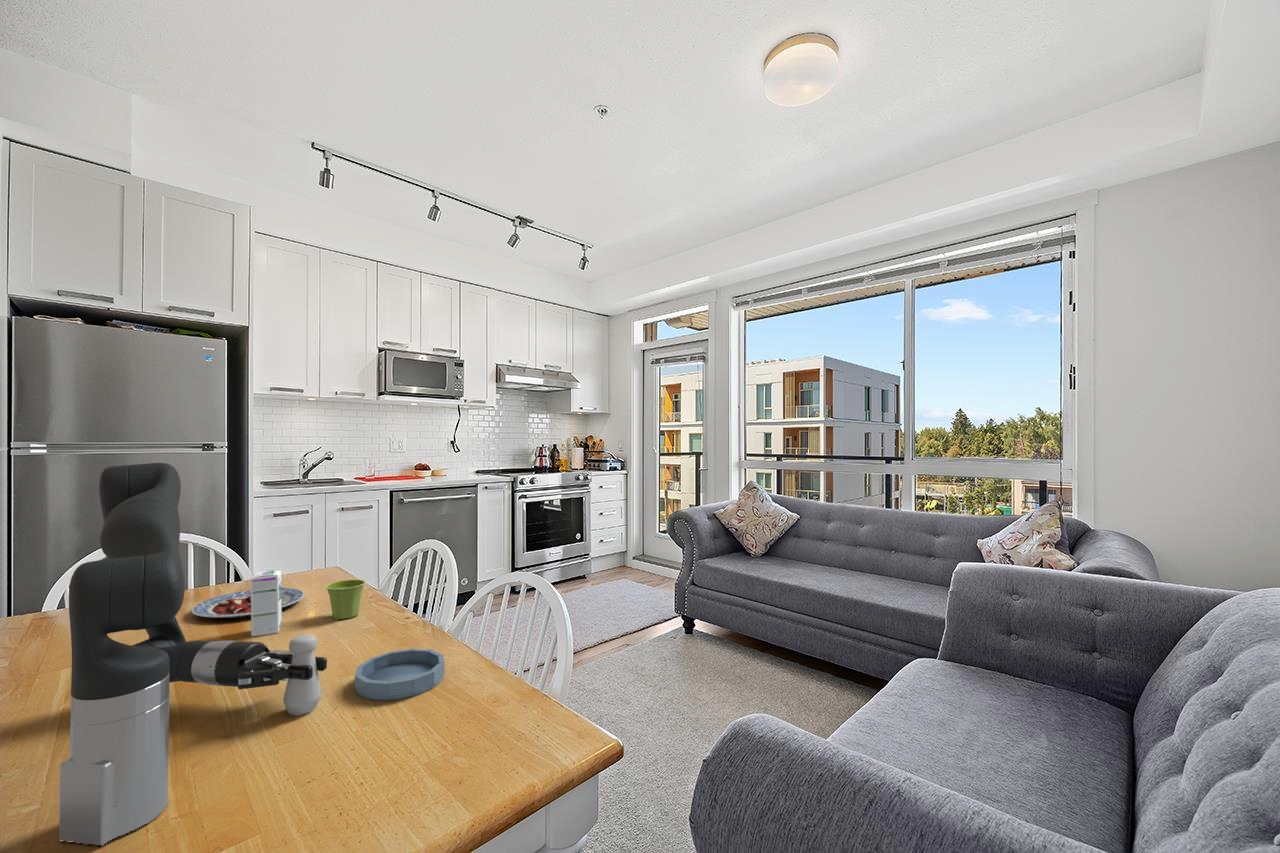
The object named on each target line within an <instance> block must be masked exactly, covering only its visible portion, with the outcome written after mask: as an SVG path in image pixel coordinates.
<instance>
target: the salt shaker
mask: <svg viewBox="0 0 1280 853" xmlns="http://www.w3.org/2000/svg"><path fill="white" fill-rule="evenodd" d="M317 647H318V638H317V636H316V635H315V634H312V633H311V634H307V633H306V634H301V635H297V636H295V637H293V638H292V639H291V640H290V641H289V645H288V649H289V651H290V652H291V653H294V655H293V660H292V664H291V666H292V665H295V666H301V665H309V666H312V667H313V677H312V678H310V679H309V680H301V679H290V680H287V681H286V687H285V691H284V695H283V705H284V707H285V709H286V711H287V713H288V714H289V716H295V717H296V716H297V717H301V716H303V715H306V714H310V713H312V712H313V711H314V710H315V709H316V708H317V707H318V705H319V702H320V700H321V697H322V695H323V694H322V693H323V692H322V688H321V683H320V678H319V677H320V675H319V671H318V670H317V665H316V660H315V657H316V655H315V650H316V648H317Z"/></svg>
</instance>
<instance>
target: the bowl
mask: <svg viewBox="0 0 1280 853" xmlns="http://www.w3.org/2000/svg"><path fill="white" fill-rule="evenodd" d="M443 676H445V658H444V654H443V653H440V652H438V651H436V650H433V649H430V648H429V649H426V648H407V649H399V650H393V651H388V652H386V653H385V652H384V653H382V654H379V655H376V656H372V657H370V658H368V659H367V660H365V661H364V662H362V663H361V664H360V665H358V666H357V667H356V670H355V676H354V690H355V692H356V694H357V695H358V696H360V697H361V698H363V699H366V700H371V701H381V702H383V701H386V702H387V701H397V700H403V699H408V698H412V697H414V696H415V697H416V696H418V695H420V694H424V693H425V692H428V691H430V690H432V689H434V688H435V687H437V686H438V685H439V684H441V682H442V681H443V679H444V677H443ZM441 680H442V681H441ZM436 685H437V686H436ZM433 687H434V688H433ZM431 688H432V689H431Z"/></svg>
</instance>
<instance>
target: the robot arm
mask: <svg viewBox="0 0 1280 853" xmlns="http://www.w3.org/2000/svg"><path fill="white" fill-rule="evenodd" d="M181 484H182V483H181V478H180V475H179V473H178V470H176V467H174V466H173V465H172V464H169V463H166V462H151V463H138V464H130V465H129V464H125V465H124V464H122V465H114V466H108V467H105V468H104V469H103V471H102V472H101V474H100V477H99V484H98V486H99V487H98V491H99V492H98V494H99V501H100V506H101V512H102V518H103V525H102V530H101V533H100V537H99V545H100V548H101V551H102V553H103V555H105V556H106V557H107V559H100V560H99V559H98V560H93V561H87V562H84V563H83V562H82V564H80V565H79V566H77V567H76V568H75V570H73V573H72V575H71V579H70V582H69V586H68V588H69V589H68V615H69V628H70V641H71V642H70V643H71V673H70V675H71V676H70V677H71V681H70V726H69V727H70V732H69V733H70V734H69V735H70V736H69V740H70V741H69V757H68V758H67V759H65V760H63V761H62V762H61V763H60V765H59V771H60V772H59V826H58V828H59V830H58V831H59V832H58V833H59V834H58V841H59V840H63V841H73V842H79V843H83V844H82V845H88V844H97V845H102V846H105V845H106V844H108V843H109V842H111V841H113V840H114V838H115V839H117V838H119V837H118V836H120V837H122V836H125V835H127V834H126V833H128V834H130V833H131V832H130V831H132V830H134V831H136V830H138V829H140V828H142V827H144V826H145V824H146V825H147V824H149V823H150V822H152V821H153V820H155V819H156V818H157V817H159V816H160V815H161V814H162V813H163V812H164V810H165V809H166V808H167V806H168V803H169V757H170V756H169V754H170V753H169V744H170V742H169V741H170V736H169V734H170V733H169V732H170V684H171V683H174V682H176V683H177V682H182V683H183V682H184V683H195V684H196V683H197V684H205V685H208V686H216V687H217V686H220V687H233V688H238V690H244V689H245V690H246V689H254V688H263V687H271V686H272V687H273V686H277V685H279V684H280V681H282V682H287V681H288V680H290V679H301V680H309V679H310V678H312V677H313V667H312V666H309V665H301V666H295V665H292V666H291V664H292V660H293V655H294V653H291V652H290V650H289V651H284V650H279V649H278V650H277V649H276V650H275V649H274V650H270V649H269V647H268V646H267V645H266V644H264V642H260V641H244V640H243V641H241V640H217V641H216V640H215V641H214V640H200V639H199V640H189V641H188V640H186V637H185V635H184V633H183V631H182V629H181V627H180V624H179V622H178V620H177V617H176V616H177V615H178V613H179V612H180V610H181V608H182V605H183V602H184V600H185V599H184V598H185V592H186V591H185V590H186V589H185V588H186V586H185V585H186V582H185V575H184V569H183V565H182V560H181V556H180V538H181V521H180V515H179V514H180V513H179V509H178V507H179V505H180V504H179V502H180V497H181V489H182V485H181ZM141 630H145V631H146V633H147V635H148V639H144V640H143V641H140V642H137V643H135V644H132V645H131V644H130V645H129V644H127V643H123V642H119V641H117V640H114V639H112V638H111V637H109V635H108V634H112V633H119V632H124V631H125V632H126V631H141ZM315 660H316V665H317V670H318V672H323V671H325V670H326V669H327V667H328V666H327V665H328V664H327V663H328V659H327V658H326V656H325V657H324V656H315ZM161 812H162V813H161ZM143 825H144V826H143ZM141 826H142V827H141ZM139 827H140V828H139ZM137 828H138V829H137ZM135 829H136V830H135ZM129 832H130V833H129ZM132 832H133V831H132ZM124 834H125V835H124ZM121 835H122V836H121ZM116 837H117V838H116ZM112 839H113V840H112ZM110 840H111V841H110ZM108 841H109V842H108ZM107 842H108V843H107ZM79 843H78V844H79ZM105 843H106V844H105ZM104 844H105V845H104ZM97 845H96V846H97Z"/></svg>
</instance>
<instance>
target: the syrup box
mask: <svg viewBox="0 0 1280 853" xmlns="http://www.w3.org/2000/svg"><path fill="white" fill-rule="evenodd" d="M281 588H282V570H281V569H271V570H270V569H269V570H262V571H257V572H254V574H253V575H252V576H251V578H250V590H251V616H250V634H251V635H250V636H251V637H261V636H268V635H274V634H279V632H280V630H281V628H282V626H283V620H282V618H283V617H282V616H283V614H282V611H283V610H282V609H283V607H282V596H281Z"/></svg>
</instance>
